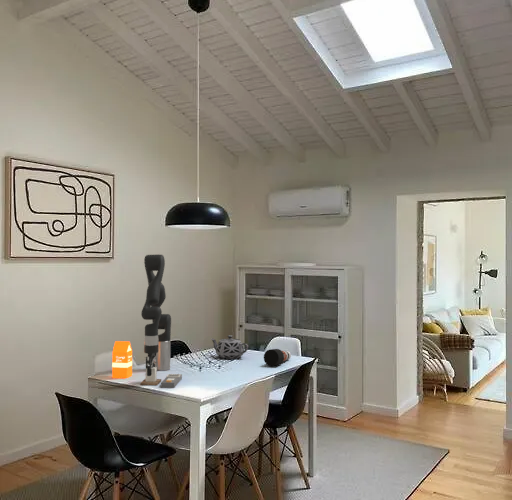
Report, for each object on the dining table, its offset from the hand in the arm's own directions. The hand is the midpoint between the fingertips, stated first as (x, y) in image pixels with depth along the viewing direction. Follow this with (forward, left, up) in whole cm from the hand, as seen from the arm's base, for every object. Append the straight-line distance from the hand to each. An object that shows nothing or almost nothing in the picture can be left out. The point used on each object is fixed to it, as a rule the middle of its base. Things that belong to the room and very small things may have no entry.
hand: (151, 374), depth 296 cm
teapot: (-82, +34, -5) cm, 89 cm away
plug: (0, 0, -4) cm, 4 cm away
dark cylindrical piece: (-65, +69, -5) cm, 95 cm away
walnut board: (0, 0, -5) cm, 5 cm away
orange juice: (-15, -20, -5) cm, 25 cm away
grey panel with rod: (-5, +11, -5) cm, 13 cm away
